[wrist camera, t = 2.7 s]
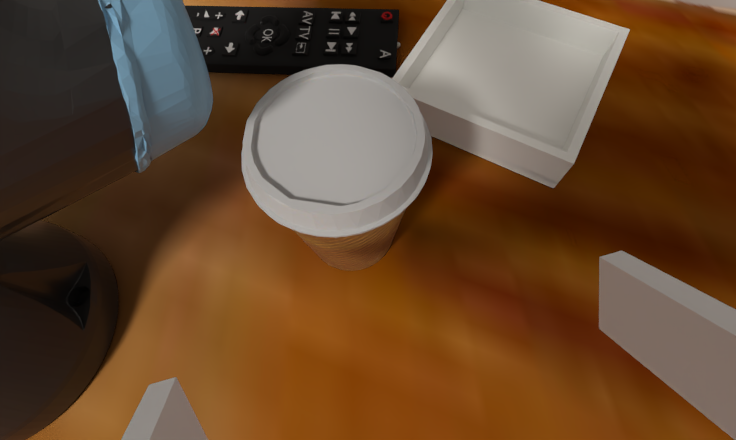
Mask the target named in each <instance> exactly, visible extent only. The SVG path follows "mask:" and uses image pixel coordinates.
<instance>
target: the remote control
mask: <svg viewBox="0 0 736 440" xmlns="http://www.w3.org/2000/svg"><path fill="white" fill-rule="evenodd" d="M185 8H186V10H187V13H188V15H189V18H190V21H191V23H192V26H193V29H194V31H195V34H196V37H197V39H198V42H199V45H200V48H201V51H202V54H203V57H204V60H205V63H206V67H207V70H208V72H216V73H252V74H287V75H293V74H295V73H298V72H301V71H303V70H306V69H310V68H314V67H319V66H323V65H335V64H345V65H356V66H360V67H364V68H367V69H370V70H374V71H377V72H381V73H383V74H384V75H386V76H388V77H394V75H395V74H396V56H397V48H399V47H400V43H399V42H397V38H398V19H399V10H390V9H335V8H281V7H227V6H185Z"/></svg>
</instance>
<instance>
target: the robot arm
mask: <svg viewBox="0 0 736 440" xmlns="http://www.w3.org/2000/svg"><path fill="white" fill-rule="evenodd" d="M212 104H213V93H212V87H211V82H210V77H209V73H208V70H207V67H206V63H205V60H204V57H203V54H202V51H201V48H200V45H199V42H198V39H197V37H196V34H195V31H194V29H193V26H192V23H191V21H190V18H189V15H188V13H187V10H186V8H185V5H184V3H183V1H182V0H0V440H26V439H28V438H29V437H31V436H33V435H34V434H36V433H37V432H39V431H40V430H42V429H43V428H45V427H46V426H47V425H49V424H50V423H51V422H52V421H54V420H55V419H56V418H57V417H58V416H60V415H61V414H62V413H63V412H64V411H65V410H66V409H67V408H68V407H69V406H70V405H71V404H72V403H73V402H74V401H75V400H76V399H77V397H78V396H79V395H80V394H81V393H82V391H83V390H84V389H85V388H86V386H87V385H88V384H89V382H90V381H91V379H92V378H93V376H94V375H95V373H96V372H97V370H98V368H99V366H100V365H101V363H102V361H103V359H104V357H105V355H106V353H107V350H108V348H109V346H110V343H111V340H112V337H113V334H114V330H115V326H116V322H117V315H118V288H117V282H116V278H115V275H114V272H113V270H112V267H111V265H110V263H109V262H108V260H107V258H106V257H105V256H104V254H103V253H102V252H101V251H100V250H99V249H98V248H97V247H96V246H95V245H93V244H92V243H91V242H89V241H88V240H86V239H84V238H82V237H80V236H79V235H77V234H75V233H73V232H71V231H69V230H67V229H65V228H63V227H60V226H58V225H55V224H52V223H49V222H45V221H41V219H43V218H45V217H47V216H49V215H51V214H53V213H55V212H57V211H59V210H61V209H62V208H64V207H66V206H68V205H70V204H72V203H74V202H76V201H78V200H80V199H82V198H84V197H86V196H88V195H90V194H91V193H93V192H95V191H97V190H99V189H101V188H103V187H105V186H107V185H109V184H111V183H113V182H115V181H117V180H119V179H120V178H122V177H124V176H126V175H128V174H130V173H132V172H134V171H135V172H138V173H141V172H143V171H145V169H146V168H147V167H149V165H150V164H151V161H152V160H154V159H156V158H157V157H159V156H161V155H163V154H164V153H166V152H168V151H170V150H171V149H173V148H175V147H176V146H178V145H180V144H182V143H183V142H185V141H187V140H188V139H190V138H192V137H194V136H195V135H197V134H198V133H199V132H200V131H201V130H202V129H203V128H204V127H205V125H206V124H207V121H208V119H209V116H210V113H211V111H212ZM599 329H600V330H601V331H603V332H604V333H605V334H606V335H607V336H609V337H610V338H611V339H612V340H614V341H615V342H616V343H617V344H618V345H620V346H621V347H622V348H623V349H625V350H626V351H627V352H628V353H629V354H631V355H632V356H633V357H634V358H635V359H637V360H638V361H639V362H640V363H642V364H643V365H644V366H645V367H646V368H648V369H649V370H650V371H651V372H653V373H654V374H655V375H656V376H657V377H659V378H660V379H661V380H662V381H664V382H665V383H666V384H667V385H668V386H670V387H671V388H672V389H673V390H674V391H676V392H677V393H678V394H679V395H681V396H682V397H683V398H684V399H685V400H687V401H688V402H689V403H690V404H692V405H693V406H694V407H695V408H696V409H698V410H699V411H700V412H701V413H702V414H704V415H705V416H706V417H707V418H709V419H710V420H711V421H712V422H713V423H715V424H716V425H717V426H718V427H720V428H721V429H722V430H723V431H724V432H726V433H727V434H728V435H729V436H731V437H732V438H733V439H734V440H736V309H734V308H732V307H730V306H728V305H726V304H724V303H722V302H720V301H718V300H716V299H715V298H713V297H711V296H709V295H707V294H705V293H703V292H701V291H699V290H697V289H695V288H693V287H691V286H689V285H688V284H686V283H684V282H682V281H680V280H678V279H676V278H674V277H672V276H670V275H668V274H666V273H664V272H662V271H661V270H659V269H657V268H655V267H653V266H651V265H649V264H647V263H645V262H643V261H641V260H639V259H637V258H635V257H634V256H632V255H630V254H628V253H626V252H624V251H618V252H615V253H611V254H608V255H604V256H601V257H599ZM121 440H208V439H207V437H206V435H205V433H204V431H203V429H202V427H201V425H200V423H199V421H198V419H197V417H196V415H195V413H194V411H193V409H192V407H191V405H190V403H189V401H188V399H187V397H186V395H185V393H184V391H183V389H182V387H181V385H180V383H179V381H178V380H177V378H176V377H174V378H171V379H167V380H164V381H160V382H157V383H153V384H150V385H149V386H148V388H147V390H146V392H145V394H144V396H143V398H142V400H141V402H140V404H139V406H138V408H137V410H136V411H135V413H134V415H133V417H132V419H131V421H130V423H129V425H128V427H127V429H126V431H125V433H124V435H123V437H122V439H121Z"/></svg>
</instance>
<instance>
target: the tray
mask: <svg viewBox="0 0 736 440" xmlns="http://www.w3.org/2000/svg"><path fill="white" fill-rule="evenodd" d="M629 31H630V29H627V28H624V27H621V26H618V25H615V24H611V23H608V22H605V21H602V20H599V19H596V18H592V17H589V16H586V15H583V14H580V13H577V12H574V11H570V10H567V9H564V8H561V7H558V6H555V5H551V4H548V3H545V2H542V1H539V0H447V1H446V3H445V4H444V5H443V7H442V8H441V10H440V11H439V13H438V14H437V15H436V17H435V18H434V20H433V21H432V23H431V24H430V25H429V27H428V28H427V30H426V31H425V32H424V34H423V35H422V37H421V38H420V40H419V41H418V42H417V44H416V45H415V47H414V48H413V50H412V51H411V52H410V54H409V55H408V57H407V58H406V60H405V61H404V62H403V64H402V65H401V67H400V68H399V69H398V71H397V72H396V74H395V75H394V77H393V78H392V79H393V80H395V81H396V82H397V83H399V84H400V85H401V86H403V87H404V88H405V89H406V90H407V92H408V93H409V94H410V95H411V96H412V97H413V99H414V100H415V102H416V104H417V105H418V107H419V110H420V112H421V114H422V116H423V118H424V120H425V121H426V123H427V126H428V129H429V132H430V135H431V136H432V137H435V138H437V139H439V140H442V141H444V142H446V143H449V144H451V145H453V146H456V147H458V148H460V149H463V150H465V151H467V152H470V153H472V154H474V155H477V156H479V157H481V158H484V159H486V160H488V161H491V162H493V163H495V164H498V165H500V166H502V167H505V168H507V169H509V170H511V171H514V172H516V173H518V174H521V175H523V176H525V177H528V178H530V179H532V180H535V181H537V182H539V183H542V184H544V185H546V186H549V187H551V188H554V187H555V186H556V185H557V184H558V183H559V181H560V180H561V179H562V178H563V177H564V175H565V174H566V173H567V172H568V171H569V169H570V168H571V167H572V166H573V165H574V163H575V160H576V158H577V156H578V153H579V151H580V148H581V146H582V144H583V141H584V139H585V136H586V134H587V132H588V129H589V127H590V124H591V122H592V120H593V117H594V115H595V112H596V110H597V107H598V105H599V103H600V100H601V98H602V95H603V93H604V91H605V88H606V86H607V83H608V81H609V79H610V76H611V74H612V71H613V69H614V67H615V64H616V62H617V59H618V57H619V55H620V52H621V50H622V47H623V45H624V43H625V40H626V38H627V35H628V33H629Z"/></svg>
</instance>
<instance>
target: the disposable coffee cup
mask: <svg viewBox="0 0 736 440" xmlns="http://www.w3.org/2000/svg"><path fill="white" fill-rule="evenodd" d="M432 155H433V152H432V138H431V135H430V132H429V129H428V126H427V123H426V121H425V120H424V118H423V116H422V114H421V112H420V110H419V107H418V105H417V104H416V102H415V100H414V99H413V97H412V96H411V95H410V94H409V93H408V92H407V90H406V89H405V88H404V87H403V86H401V85H400V84H399V83H397V82H396V81H395V80H393V79H392V78H390V77H388V76H386V75H384V74H383V73H381V72H377V71H374V70H370V69H367V68H364V67H360V66H356V65H345V64H335V65H323V66H319V67H314V68H310V69H306V70H303V71H301V72H298V73H295V74H293V75H291V76H289V77H287V78H285V79H284V80H282V81H281V82H279V83H278V84H276V85H275V86H273V87H272V88H271V89H270V90H269V91H268V92H267V93H266V94H265V95H264V96H263V97H262V98H261V99H260V100H259V101H258V102H257V104H256V105H255V107H254V109H253V111H252V113H251V114H250V116H249V118H248V120H247V122H246V127H245V132H244V138H243V148H242V152H241V157H242V173H243V176H244V180H245V184H246V187H247V189H248V190H249V192H250V194H251V195H252V197H253V198H254V200H255V202H256V203H257V205H258V206H259V207H260V208H261V209H262V210H263V211H264V212H265V213H267V214H268V215H269V216H270V217H271V218H272V219H274V220H275V221H276V222H278V223H279V224H281V225H283V226H286V227H288V228H290V229H292V230H294V232H295V233H297V235H298V236H299V237H300V238H301V239H302V240H303V241H304V242H305V243H306V244H307V245H308V246H309V247H310V248H311V249H312V250H313V251H314V252H315V253H316V254H317V255H318V256H319V257H320V258H321V259H322V260H323V261H324V262H326V263H327V264H328V265H330V266H333V267H335V268H338V269H341V270H350V271H355V270H360V269H364V268H367V267H370V266H372V265H373V264H375V263H377V262H378V261H379V260H380V259H381V258H382V257H383V256H384V255H385V254H386V253H387V251H388V250H389V248H390V246H391V243H392V241H393V238H394V236H395V234H396V231H397V229H398V227H399V224H400V222H401V220H402V217H403V215H404V213H405V211H406V208H407V207H408V206H409V205H410V204H411V203H412V202H413V201H414V200H415V199H416V198H417V196H418V195H419V193H420V191H421V189H422V188H423V186H424V184H425V182H426V180H427V177H428V174H429V171H430V168H431V162H432Z"/></svg>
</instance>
